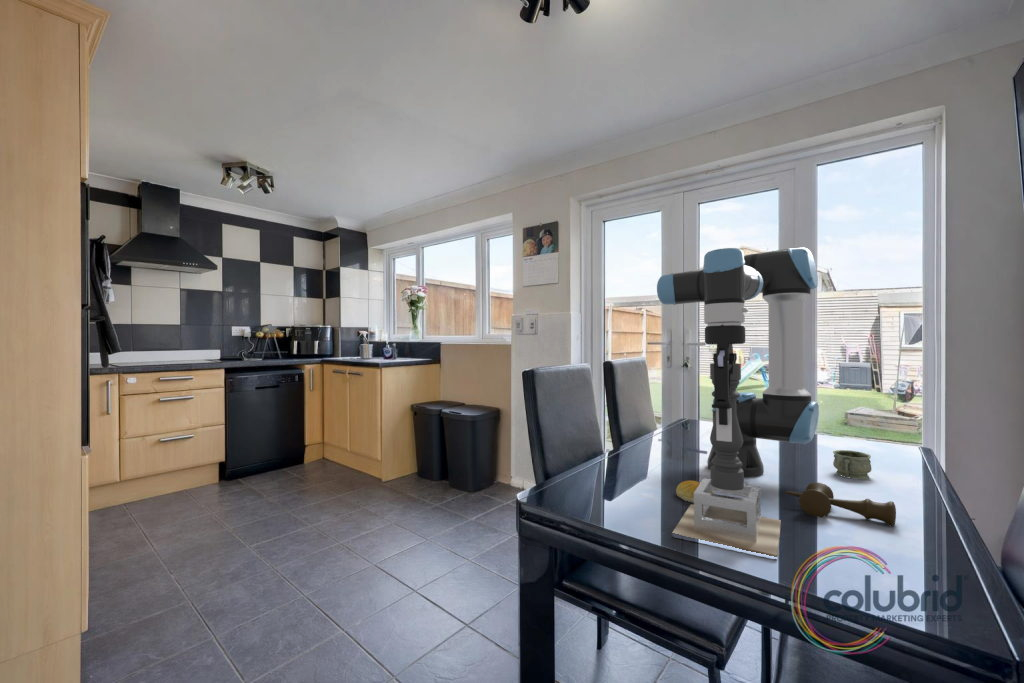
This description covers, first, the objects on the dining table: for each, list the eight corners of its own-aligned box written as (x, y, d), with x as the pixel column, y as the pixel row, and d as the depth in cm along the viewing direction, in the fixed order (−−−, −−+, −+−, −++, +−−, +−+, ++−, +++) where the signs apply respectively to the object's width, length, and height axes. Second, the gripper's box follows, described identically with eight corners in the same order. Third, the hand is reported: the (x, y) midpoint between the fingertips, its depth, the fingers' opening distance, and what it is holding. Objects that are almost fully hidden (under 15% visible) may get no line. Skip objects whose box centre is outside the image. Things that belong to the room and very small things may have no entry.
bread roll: (699, 491, 116) (699, 475, 116) (719, 503, 107) (719, 486, 107) (669, 492, 115) (669, 477, 115) (687, 505, 106) (687, 488, 106)
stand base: (690, 508, 103) (690, 504, 103) (780, 524, 94) (780, 520, 94) (672, 537, 88) (672, 532, 88) (777, 560, 78) (777, 555, 78)
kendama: (896, 536, 89) (780, 510, 102) (895, 522, 96) (788, 499, 109) (896, 506, 89) (781, 484, 102) (896, 494, 96) (788, 475, 109)
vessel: (839, 468, 134) (839, 447, 134) (877, 474, 127) (876, 452, 127) (827, 476, 126) (826, 454, 126) (865, 483, 120) (865, 460, 120)
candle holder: (709, 487, 90) (707, 364, 90) (711, 479, 95) (709, 362, 95) (744, 492, 87) (742, 364, 87) (744, 483, 92) (742, 363, 92)
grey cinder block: (704, 512, 98) (703, 478, 99) (760, 522, 92) (760, 486, 93) (694, 530, 89) (693, 492, 89) (756, 542, 83) (755, 502, 83)
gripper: (739, 322, 81) (741, 449, 81) (749, 325, 97) (751, 431, 97) (696, 324, 85) (698, 444, 85) (712, 326, 101) (713, 428, 101)
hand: (726, 437), depth 91 cm, fingers closed on candle holder, 6 cm apart
